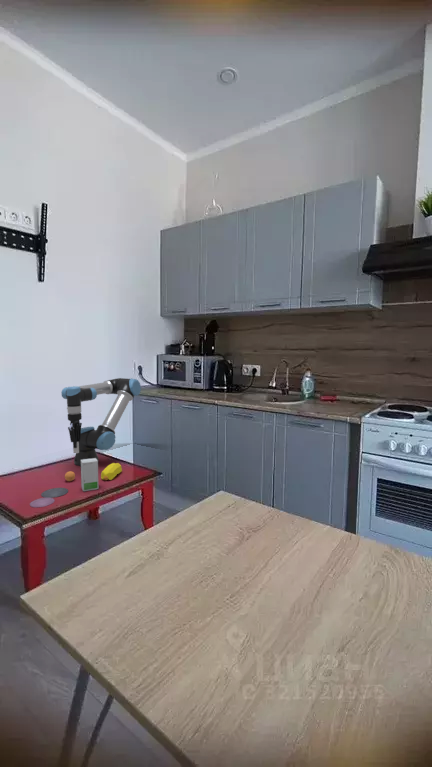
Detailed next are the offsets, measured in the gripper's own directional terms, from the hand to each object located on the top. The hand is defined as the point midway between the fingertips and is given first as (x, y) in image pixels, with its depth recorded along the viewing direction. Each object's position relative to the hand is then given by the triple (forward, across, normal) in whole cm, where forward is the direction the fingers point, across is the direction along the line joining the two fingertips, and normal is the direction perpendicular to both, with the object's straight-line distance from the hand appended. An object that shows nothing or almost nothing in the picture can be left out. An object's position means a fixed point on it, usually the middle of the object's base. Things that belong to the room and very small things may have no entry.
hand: (76, 452), depth 217 cm
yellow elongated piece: (+14, 0, +21) cm, 25 cm away
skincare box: (+14, +19, +16) cm, 29 cm away
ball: (+11, +9, 0) cm, 14 cm away
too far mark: (+14, +38, 0) cm, 41 cm away
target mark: (+14, +26, 0) cm, 30 cm away
